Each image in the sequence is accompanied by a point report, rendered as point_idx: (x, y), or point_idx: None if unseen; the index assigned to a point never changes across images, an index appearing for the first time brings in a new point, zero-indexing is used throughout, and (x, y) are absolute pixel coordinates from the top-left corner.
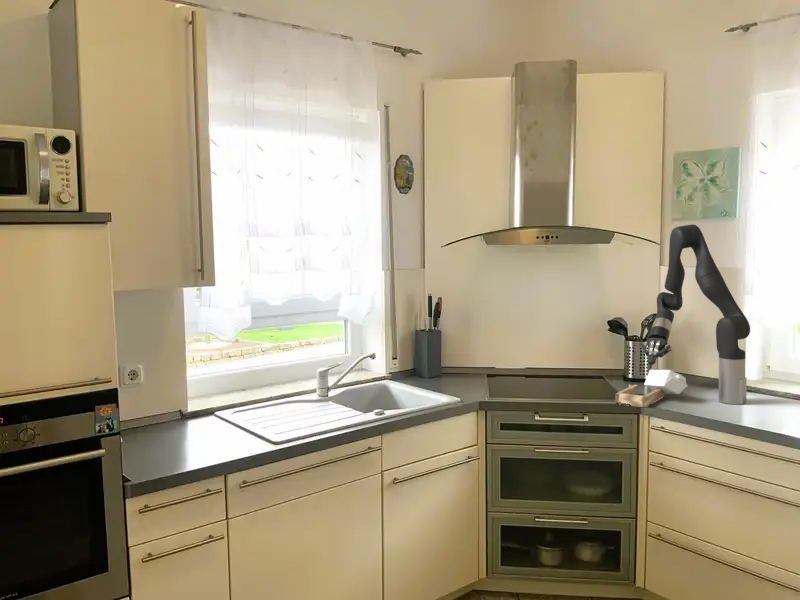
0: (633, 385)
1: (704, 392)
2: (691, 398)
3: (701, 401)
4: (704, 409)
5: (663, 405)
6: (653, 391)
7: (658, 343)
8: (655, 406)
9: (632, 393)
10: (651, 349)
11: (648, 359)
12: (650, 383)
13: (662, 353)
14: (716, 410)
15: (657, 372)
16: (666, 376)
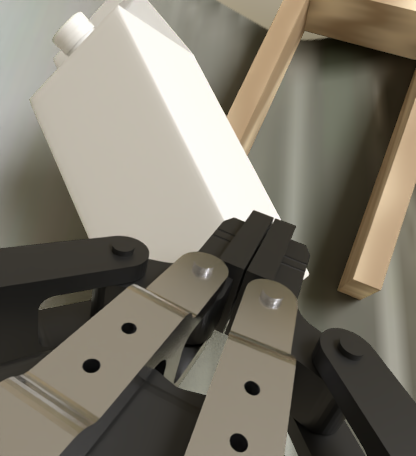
0: (383, 253)
1: None
2: (49, 229)
3: (21, 170)
4: (56, 31)
5: (213, 63)
6: (254, 93)
7: (23, 400)
8: (251, 40)
9: (373, 200)
10: (253, 342)
11: (297, 261)
12: (266, 200)
13: (65, 333)
14: (16, 26)
15: (210, 164)
16: (160, 41)
